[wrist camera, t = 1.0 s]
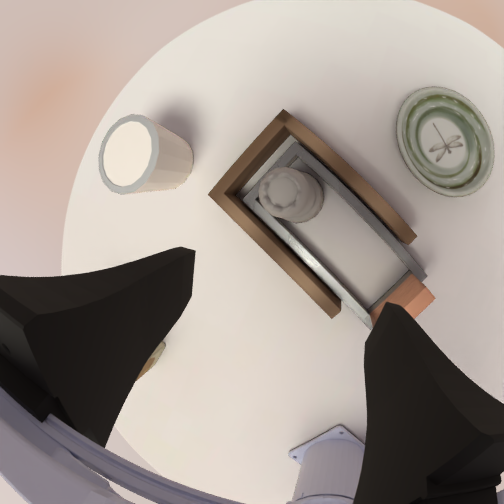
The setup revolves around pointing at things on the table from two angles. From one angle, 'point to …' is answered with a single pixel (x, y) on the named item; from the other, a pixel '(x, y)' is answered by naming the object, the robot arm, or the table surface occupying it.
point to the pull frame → (402, 293)
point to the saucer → (445, 141)
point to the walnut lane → (270, 240)
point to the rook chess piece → (291, 194)
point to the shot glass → (143, 157)
